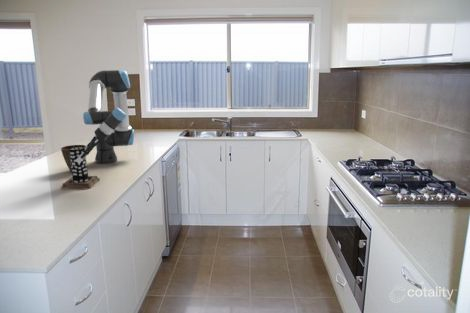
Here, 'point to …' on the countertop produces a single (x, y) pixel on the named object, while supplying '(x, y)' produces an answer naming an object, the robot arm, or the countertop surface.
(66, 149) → the plant pot
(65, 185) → the walnut board
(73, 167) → the white-spotted black cylinder
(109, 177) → the countertop surface
